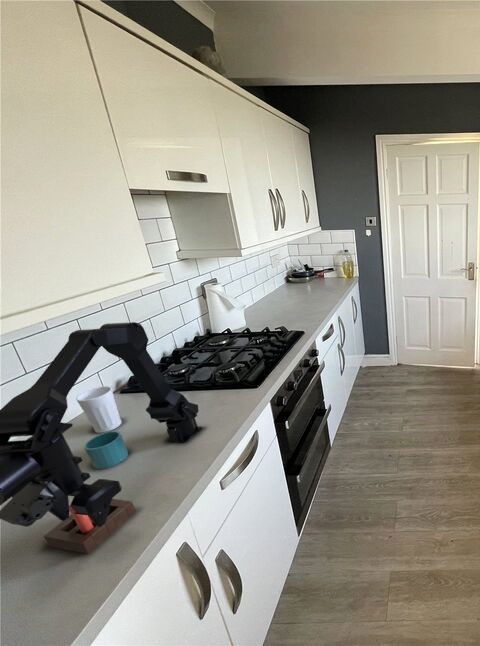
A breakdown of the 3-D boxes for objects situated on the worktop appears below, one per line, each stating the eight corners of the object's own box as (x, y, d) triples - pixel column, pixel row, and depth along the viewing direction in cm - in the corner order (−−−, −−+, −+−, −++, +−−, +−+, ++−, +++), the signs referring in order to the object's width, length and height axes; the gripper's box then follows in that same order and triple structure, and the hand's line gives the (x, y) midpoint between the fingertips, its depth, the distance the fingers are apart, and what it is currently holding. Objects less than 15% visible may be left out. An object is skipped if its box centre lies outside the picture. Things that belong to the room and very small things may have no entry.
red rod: (93, 534, 74) (74, 498, 70) (100, 535, 73) (82, 499, 70) (84, 541, 72) (64, 506, 68) (91, 543, 72) (72, 507, 68)
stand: (100, 505, 80) (95, 495, 79) (136, 511, 79) (131, 501, 78) (49, 546, 71) (43, 536, 70) (88, 554, 69) (82, 543, 68)
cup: (121, 415, 114) (108, 383, 109) (127, 424, 109) (114, 391, 104) (89, 427, 108) (73, 394, 103) (94, 438, 103) (78, 404, 99)
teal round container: (114, 448, 98) (105, 430, 96) (135, 451, 97) (127, 432, 95) (86, 467, 92) (76, 447, 89) (108, 470, 91) (99, 450, 88)
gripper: (-47, 490, 60) (-3, 553, 65) (39, 504, 56) (76, 569, 62) (33, 445, 70) (64, 503, 75) (109, 455, 67) (136, 515, 72)
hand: (83, 522), depth 71 cm, fingers open, 9 cm apart
